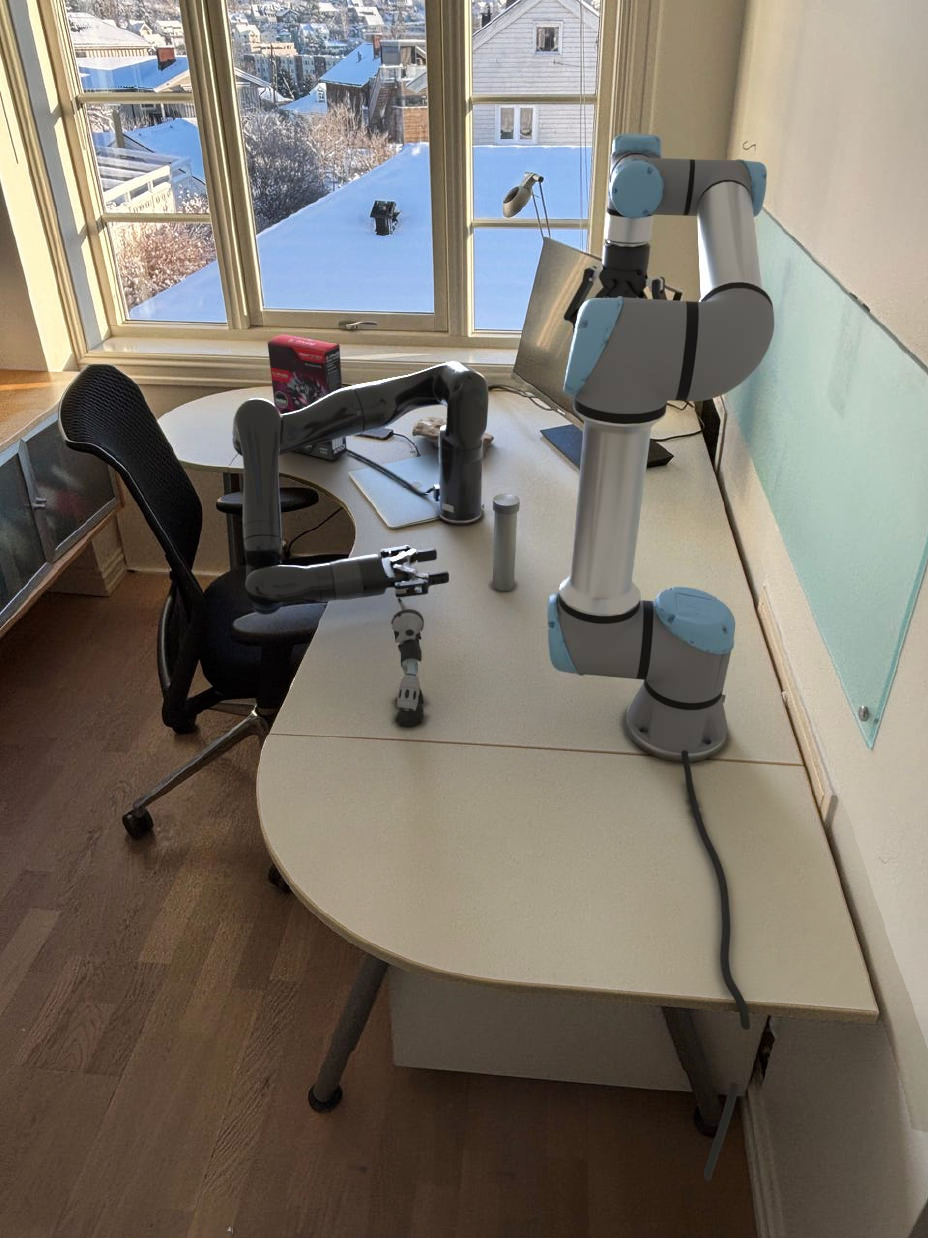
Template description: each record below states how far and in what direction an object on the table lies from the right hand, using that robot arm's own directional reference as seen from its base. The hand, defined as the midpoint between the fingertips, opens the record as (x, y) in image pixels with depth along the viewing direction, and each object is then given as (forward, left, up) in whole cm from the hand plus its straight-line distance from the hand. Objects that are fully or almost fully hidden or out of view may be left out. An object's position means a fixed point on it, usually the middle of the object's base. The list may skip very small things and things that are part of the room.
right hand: (614, 370), depth 161 cm
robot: (-52, +22, -41) cm, 69 cm away
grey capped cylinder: (-11, +16, -41) cm, 45 cm away
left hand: (-17, +26, -34) cm, 46 cm away
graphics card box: (+38, +77, -41) cm, 95 cm away
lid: (-11, +16, -22) cm, 30 cm away
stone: (+50, +45, -41) cm, 78 cm away
